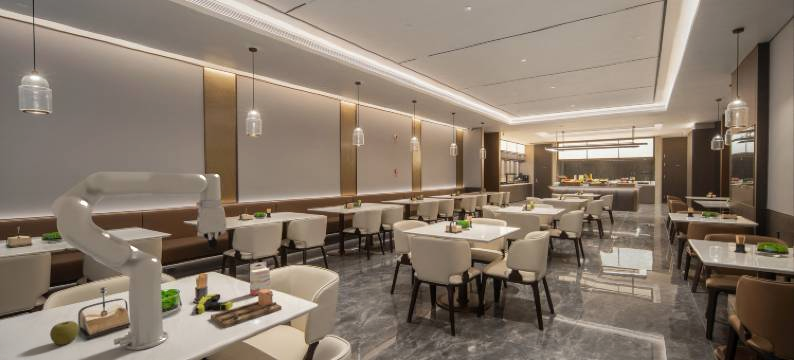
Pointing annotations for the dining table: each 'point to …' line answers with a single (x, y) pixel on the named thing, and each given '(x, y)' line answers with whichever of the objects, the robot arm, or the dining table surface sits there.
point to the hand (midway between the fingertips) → (212, 248)
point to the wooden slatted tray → (244, 313)
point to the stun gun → (212, 304)
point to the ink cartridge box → (259, 278)
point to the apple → (64, 332)
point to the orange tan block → (265, 297)
